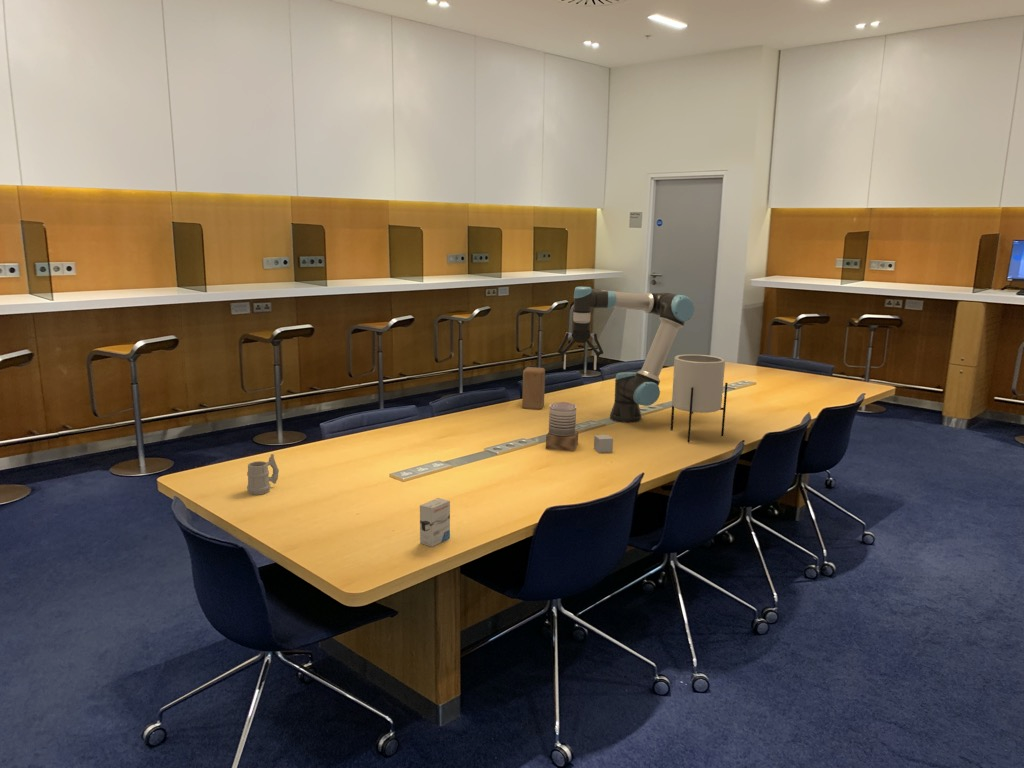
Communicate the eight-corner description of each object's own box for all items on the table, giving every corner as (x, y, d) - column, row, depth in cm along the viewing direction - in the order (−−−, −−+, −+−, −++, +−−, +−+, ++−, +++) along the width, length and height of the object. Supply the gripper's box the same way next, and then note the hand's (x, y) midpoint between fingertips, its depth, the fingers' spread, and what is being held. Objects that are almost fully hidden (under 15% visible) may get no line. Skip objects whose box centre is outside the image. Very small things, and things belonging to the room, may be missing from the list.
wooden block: (541, 410, 386) (542, 371, 382) (521, 408, 388) (522, 370, 384) (544, 405, 396) (545, 367, 392) (525, 404, 398) (526, 366, 394)
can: (579, 431, 325) (580, 404, 323) (568, 437, 315) (569, 408, 313) (555, 428, 330) (556, 401, 328) (543, 433, 320) (544, 405, 318)
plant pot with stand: (725, 433, 349) (731, 357, 341) (715, 446, 327) (722, 365, 320) (673, 427, 358) (678, 352, 351) (660, 439, 337) (665, 360, 330)
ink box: (438, 534, 229) (438, 496, 226) (450, 538, 226) (450, 500, 224) (418, 543, 222) (418, 504, 219) (431, 547, 219) (431, 508, 217)
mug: (242, 492, 260) (240, 458, 258) (271, 483, 270) (270, 450, 267) (255, 497, 256) (254, 462, 254) (285, 488, 265) (284, 454, 263)
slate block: (607, 448, 322) (607, 434, 321) (612, 452, 316) (613, 438, 315) (593, 449, 320) (594, 435, 319) (598, 453, 315) (599, 439, 313)
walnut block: (577, 444, 328) (578, 430, 327) (574, 451, 317) (574, 438, 315) (550, 441, 331) (550, 428, 329) (545, 449, 319) (546, 435, 318)
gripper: (608, 321, 341) (606, 368, 345) (553, 320, 342) (551, 366, 346) (610, 323, 334) (608, 371, 338) (553, 322, 334) (552, 369, 339)
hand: (579, 369), depth 342 cm, fingers open, 13 cm apart
